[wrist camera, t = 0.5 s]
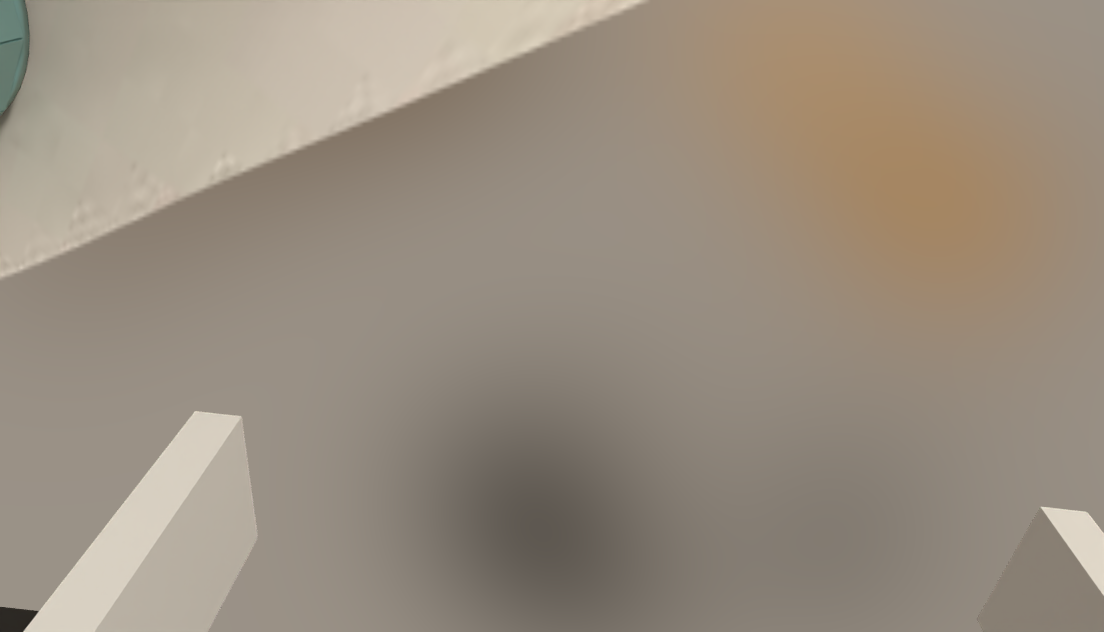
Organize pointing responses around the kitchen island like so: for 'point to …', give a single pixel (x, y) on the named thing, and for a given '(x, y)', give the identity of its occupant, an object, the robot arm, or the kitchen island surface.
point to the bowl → (12, 49)
